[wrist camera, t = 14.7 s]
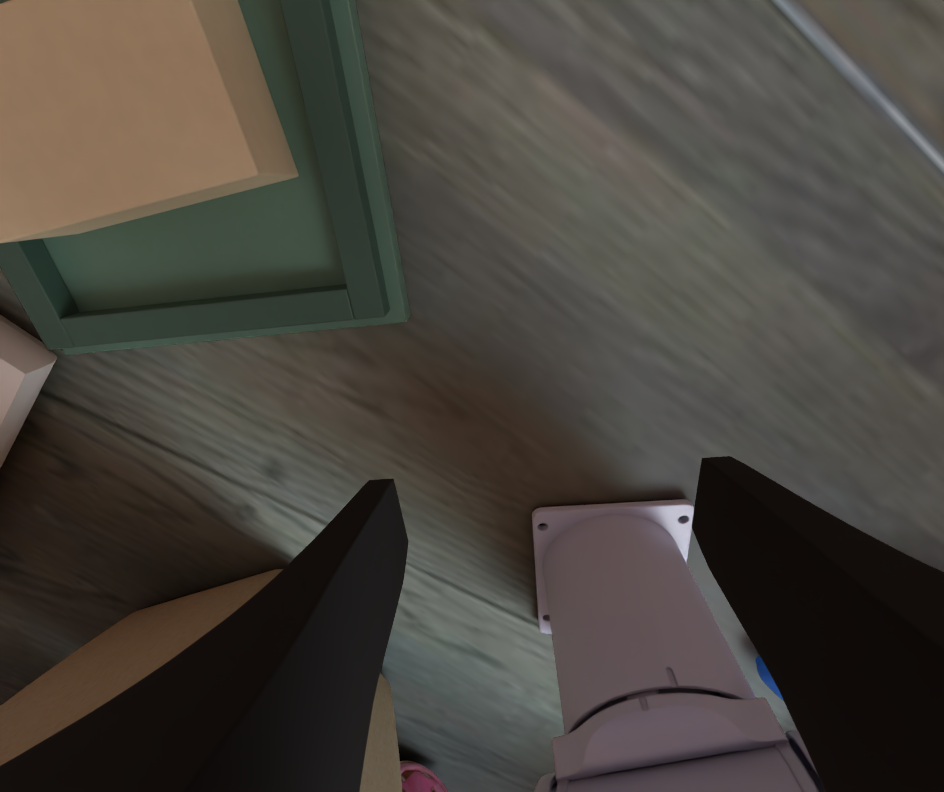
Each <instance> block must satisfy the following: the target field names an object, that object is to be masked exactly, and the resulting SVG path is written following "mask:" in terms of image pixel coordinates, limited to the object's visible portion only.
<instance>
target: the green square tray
mask: <svg viewBox="0 0 944 792" xmlns="http://www.w3.org/2000/svg"><path fill="white" fill-rule="evenodd" d="M7 1H10V0H0V4H1V3H4V2H7ZM238 3H239V5H240V8H241V11H242V14H243V17H244V20H245V23H246V25H247V28H248V31H249V34H250V37H251V40H252V43H253V45H254V48H255V51H256V54H257V57H258V60H259V63H260V65H261V68H262V71H263V74H264V77H265V80H266V83H267V85H268V88H269V91H270V94H271V97H272V100H273V103H274V105H275V108H276V111H277V114H278V117H279V120H280V123H281V125H282V128H283V131H284V134H285V137H286V140H287V143H288V145H289V148H290V151H291V154H292V157H293V160H294V163H295V165H296V168H297V171H298V174H299V176H298V177H296V178H292V179H288V180H284V181H281V182H277V183H273V184H269V185H265V186H261V187H257V188H254V189H250V190H246V191H242V192H238V193H234V194H230V195H227V196H223V197H219V198H215V199H211V200H207V201H203V202H200V203H196V204H192V205H188V206H184V207H180V208H176V209H173V210H169V211H165V212H161V213H157V214H153V215H150V216H146V217H142V218H138V219H134V220H130V221H126V222H123V223H119V224H115V225H111V226H107V227H103V228H99V229H96V230H92V231H88V232H84V233H80V234H73V235H65V236H57V237H49V238H41V239H32V240H24V241H16V242H8V243H0V268H1V270H2V271H3V273H4V275H5V277H6V278H7V280H8V282H9V284H10V285H11V287H12V289H13V290H14V292H15V294H16V296H17V297H18V299H19V301H20V303H21V304H22V306H23V308H24V310H25V311H26V313H27V315H28V317H29V318H30V320H31V322H32V323H33V325H34V327H35V329H36V330H37V332H38V334H39V336H40V337H41V339H42V341H43V343H44V344H45V346H46V348H47V349H48V350H53V349H61V350H62V351H63V353H64V355H71V354H82V353H92V352H102V351H113V350H123V349H134V348H144V347H154V346H165V345H175V344H185V343H196V342H206V341H216V340H227V339H237V338H247V337H258V336H268V335H279V334H289V333H299V332H310V331H320V330H330V329H341V328H351V327H361V326H372V325H382V324H392V323H403V322H407V320H408V319H409V317H410V315H411V314H410V308H409V302H408V297H407V291H406V285H405V280H404V274H403V268H402V263H401V257H400V251H399V246H398V240H397V234H396V229H395V223H394V217H393V211H392V206H391V200H390V194H389V189H388V183H387V177H386V172H385V166H384V160H383V155H382V149H381V143H380V138H379V132H378V126H377V121H376V115H375V109H374V104H373V98H372V92H371V86H370V81H369V75H368V69H367V64H366V58H365V52H364V47H363V41H362V35H361V30H360V24H359V18H358V13H357V7H356V1H355V0H238Z"/></svg>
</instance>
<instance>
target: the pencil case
mask: <svg viewBox="0 0 944 792" xmlns="http://www.w3.org/2000/svg"><path fill="white" fill-rule="evenodd" d="M400 771H401V782H402V792H448V791H447V789H446V787H445V786H444V784H443V783H442V781H441V780H440V779H439V778H438V777H437V776H436V775H435V774H434V773H433V772H432V771H431V770H430V769H428V768H427V767H425V766H423V765H421V764H418V763H416V762H413V761H400Z"/></svg>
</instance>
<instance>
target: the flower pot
mask: <svg viewBox="0 0 944 792" xmlns="http://www.w3.org/2000/svg"><path fill="white" fill-rule="evenodd" d="M282 570H283V569H275V570H272V571H268V572H265V573H262V574H258V575H255V576H252V577H248V578H245V579H242V580H238V581H235V582H232V583H228V584H225V585H222V586H218V587H215V588H212V589H208V590H205V591H201V592H198V593H195V594H191V595H188V596H185V597H182V598H178V599H175V600H172V601H168V602H165V603H162V604H158V605H155V606H152V607H148V608H145V609H142V610H139V611H135V612H133V613H131V614H130V615H128V616H127V617H125V618H124V619H122V620H121V621H119V622H118V623H116V624H115V625H113V626H112V627H110V628H109V629H107V630H106V631H104V632H103V633H101V634H100V635H98V636H97V637H95V638H94V639H92V640H91V641H90V642H88V643H87V644H85V645H84V646H82V647H81V648H80V649H78V650H77V651H75V652H74V653H72V654H71V655H70V656H68V657H67V658H65V659H64V660H63V661H61V662H60V663H58V664H57V665H56V666H54V667H53V668H51V669H50V670H48V671H47V672H46V673H44V674H43V675H41V676H40V677H39V678H37V679H36V680H34V681H33V682H32V683H30V684H29V685H28V686H26V687H25V688H24V689H22V690H21V691H20V692H18V693H17V694H16V695H14V696H13V697H12V698H10V699H9V700H8V701H6V702H5V703H4V704H2V705H1V706H0V766H1V765H2V764H4V763H6V762H8V761H10V760H11V759H13V758H15V757H16V756H18V755H20V754H21V753H23V752H25V751H27V750H28V749H30V748H32V747H33V746H35V745H37V744H38V743H40V742H42V741H43V740H45V739H47V738H49V737H50V736H52V735H54V734H55V733H57V732H59V731H60V730H62V729H64V728H65V727H67V726H69V725H71V724H72V723H74V722H76V721H77V720H79V719H81V718H82V717H84V716H86V715H87V714H89V713H90V712H92V711H94V710H95V709H97V708H98V707H100V706H102V705H103V704H105V703H106V702H108V701H109V700H111V699H113V698H114V697H116V696H117V695H119V694H120V693H122V692H123V691H125V690H126V689H128V688H129V687H131V686H133V685H134V684H136V683H137V682H139V681H140V680H142V679H143V678H145V677H146V676H148V675H149V674H150V673H152V672H153V671H155V670H156V669H158V668H159V667H161V666H162V665H164V664H165V663H167V662H168V661H169V660H171V659H172V658H174V657H175V656H176V655H178V654H179V653H181V652H182V651H183V650H185V649H186V648H187V647H189V646H190V645H191V644H193V643H194V642H195V641H197V640H198V639H199V638H201V637H202V636H203V635H205V634H206V633H207V632H209V631H210V630H211V629H213V628H214V627H215V626H217V625H218V624H220V623H221V622H222V621H223V620H225V619H226V618H227V617H229V616H230V615H231V614H232V613H234V612H235V611H236V610H237V609H238V608H240V607H241V606H242V605H243V604H244V603H246V602H247V601H248V600H249V599H250V598H252V597H253V596H254V595H255V594H256V593H258V592H259V591H260V590H261V589H262V588H263V587H264V586H266V585H267V584H268V583H269V582H270V581H271V580H272V579H273V578H275V577H276V576H277V575H278V574H279V573H280V572H281V571H282ZM359 792H402V782H401V771H400V759H399V750H398V741H397V732H396V724H395V715H394V708H393V701H392V693H391V687H390V684H389V683H388V681H387V680H386V679H385V678H384V676H383V675H382V674H381V673H380V675H379V679H378V684H377V688H376V693H375V698H374V702H373V708H372V714H371V721H370V727H369V733H368V739H367V745H366V751H365V758H364V764H363V771H362V778H361V785H360V791H359Z"/></svg>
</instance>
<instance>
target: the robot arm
mask: <svg viewBox="0 0 944 792" xmlns="http://www.w3.org/2000/svg"><path fill="white" fill-rule="evenodd" d="M681 516H684V517H682V518H679V517H681ZM541 523H545V525H543V526H541V525H539V524H541ZM532 525H533V541H534V557H535V573H536V589H537V605H538V621H539V629H540V631H541V632H542V633H545V634H552V640H553V647H554V655H555V662H556V670H557V677H558V685H559V692H560V700H561V707H562V714H563V722H564V729H565V735H563V736H559V737H555V738H553V739H552V746H553V756H554V765H555V773H551V774H546V775H544V776H543V777H541V778H540V779H539V781H538V783H537V785H536V788H535V791H534V792H944V572H942V571H940V570H938V569H935V568H933V567H931V566H929V565H927V564H925V563H923V562H921V561H918V560H916V559H914V558H912V557H910V556H908V555H906V554H904V553H902V552H900V551H898V550H896V549H894V548H893V547H891V546H889V545H887V544H885V543H883V542H881V541H879V540H877V539H875V538H873V537H872V536H870V535H868V534H866V533H864V532H862V531H860V530H858V529H856V528H855V527H853V526H851V525H849V524H847V523H846V522H844V521H842V520H840V519H838V518H836V517H835V516H833V515H831V514H829V513H828V512H826V511H824V510H822V509H821V508H819V507H817V506H815V505H814V504H812V503H810V502H808V501H807V500H805V499H803V498H802V497H800V496H798V495H797V494H795V493H793V492H791V491H790V490H788V489H786V488H785V487H783V486H781V485H780V484H778V483H776V482H775V481H773V480H771V479H769V478H768V477H766V476H764V475H763V474H761V473H759V472H758V471H756V470H754V469H752V468H751V467H749V466H747V465H745V464H744V463H742V462H740V461H738V460H736V459H734V458H732V457H730V456H726V457H711V458H702V462H701V468H700V475H699V481H698V487H697V494H696V500H695V507H693V505H692V503H691V502H690V501H688V500H685V499H679V500H661V501H644V502H627V503H610V504H592V505H575V506H558V507H541V508H537V509H535V510H534V511H533V513H532ZM692 529H693V531H694V534H695V536H696V539H697V541H698V544H699V546H700V549H701V551H702V553H703V555H704V558H705V560H706V562H707V565H708V567H709V569H710V571H711V572H712V574H713V576H714V578H715V579H716V581H717V583H718V585H719V586H720V588H721V590H722V592H723V593H724V595H725V597H726V599H727V600H728V602H729V604H730V606H731V607H732V609H733V611H734V612H735V614H736V616H737V618H738V619H739V621H740V623H741V624H742V626H743V628H744V630H745V631H746V633H747V635H748V636H749V638H750V640H751V642H752V643H753V645H754V647H755V648H756V650H757V652H758V654H759V655H760V657H761V659H762V660H763V662H764V664H765V666H766V667H767V669H768V671H769V673H770V675H771V677H772V678H773V680H774V682H775V684H776V686H777V688H778V690H779V691H780V694H781V696H782V698H783V700H784V702H785V704H786V706H787V708H788V710H789V713H790V715H791V717H792V719H793V721H794V723H795V725H796V727H797V730H795V731H790V732H787V734H786V735H785V734H784V732H783V730H782V728H781V726H780V724H779V722H778V720H777V719H776V717H775V715H774V713H773V711H772V709H771V707H770V705H769V704H768V702H767V700H766V699H765V698H756V697H755V695H754V693H753V691H752V689H751V688H750V686H749V684H748V682H747V680H746V678H745V676H744V674H743V672H742V670H741V668H740V666H739V664H738V662H737V660H736V658H735V656H734V654H733V653H732V651H731V649H730V647H729V645H728V643H727V641H726V639H725V637H724V635H723V633H722V631H721V629H720V627H719V625H718V623H717V621H716V619H715V618H714V616H713V614H712V612H711V610H710V608H709V606H708V604H707V602H706V600H705V598H704V596H703V594H702V592H701V590H700V588H699V586H698V584H697V582H696V581H695V579H694V577H693V575H692V573H691V571H690V569H689V567H688V565H687V557H688V550H689V543H690V537H691V530H692ZM407 549H408V538H407V534H406V529H405V525H404V521H403V517H402V512H401V508H400V504H399V500H398V496H397V491H396V487H395V483H394V479H381V480H369V481H368V482H367V483H366V484H365V485H364V486H363V487H362V488H361V489H360V490H359V492H358V493H357V494H356V495H355V496H354V497H353V498H352V499H351V500H350V501H349V503H348V504H347V505H346V506H345V507H344V508H343V509H342V510H341V511H340V512H339V513H338V514H337V516H336V517H335V518H334V519H333V520H332V521H331V522H330V523H329V524H328V525H327V526H326V527H325V528H324V529H323V530H322V532H321V533H320V534H319V535H318V536H317V537H316V538H315V539H314V540H313V541H312V542H311V543H310V544H309V545H308V546H307V547H306V548H305V549H304V550H303V551H302V552H301V553H300V554H299V555H297V556H296V557H295V558H294V559H293V560H292V561H291V562H290V563H289V564H288V565H287V566H286V567H285V568H284V569H283V570H282V571H281V572H280V573H279V574H278V575H277V576H276V577H275V578H273V579H272V580H271V581H270V582H269V583H268V584H267V585H266V586H264V587H263V588H262V589H261V590H260V591H259V592H258V593H256V594H255V595H254V596H253V597H252V598H250V599H249V600H248V601H247V602H246V603H244V604H243V605H242V606H241V607H240V608H238V609H237V610H236V611H235V612H234V613H232V614H231V615H230V616H229V617H227V618H226V619H225V620H223V621H222V622H221V623H220V624H218V625H217V626H215V627H214V628H213V629H211V630H210V631H209V632H207V633H206V634H205V635H203V636H202V637H201V638H199V639H198V640H197V641H195V642H194V643H193V644H191V645H190V646H189V647H187V648H186V649H185V650H183V651H182V652H181V653H179V654H178V655H176V656H175V657H174V658H172V659H171V660H169V661H168V662H167V663H165V664H164V665H162V666H161V667H159V668H158V669H156V670H155V671H153V672H152V673H150V674H149V675H148V676H146V677H145V678H143V679H142V680H140V681H139V682H137V683H136V684H134V685H133V686H131V687H129V688H128V689H126V690H125V691H123V692H122V693H120V694H119V695H117V696H116V697H114V698H113V699H111V700H109V701H108V702H106V703H105V704H103V705H102V706H100V707H98V708H97V709H95V710H94V711H92V712H90V713H89V714H87V715H86V716H84V717H82V718H81V719H79V720H77V721H76V722H74V723H72V724H71V725H69V726H67V727H65V728H64V729H62V730H60V731H59V732H57V733H55V734H54V735H52V736H50V737H49V738H47V739H45V740H43V741H42V742H40V743H38V744H37V745H35V746H33V747H32V748H30V749H28V750H27V751H25V752H23V753H21V754H20V755H18V756H16V757H15V758H13V759H11V760H10V761H8V762H6V763H4V764H2V765H1V766H0V792H359V791H360V785H361V778H362V771H363V764H364V758H365V751H366V745H367V739H368V733H369V727H370V721H371V714H372V708H373V702H374V698H375V693H376V688H377V684H378V679H379V675H380V671H381V667H382V663H383V659H384V656H385V652H386V648H387V644H388V640H389V636H390V632H391V628H392V625H393V621H394V617H395V613H396V609H397V605H398V601H399V597H400V593H401V589H402V585H403V580H404V573H405V565H406V557H407Z"/></svg>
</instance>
